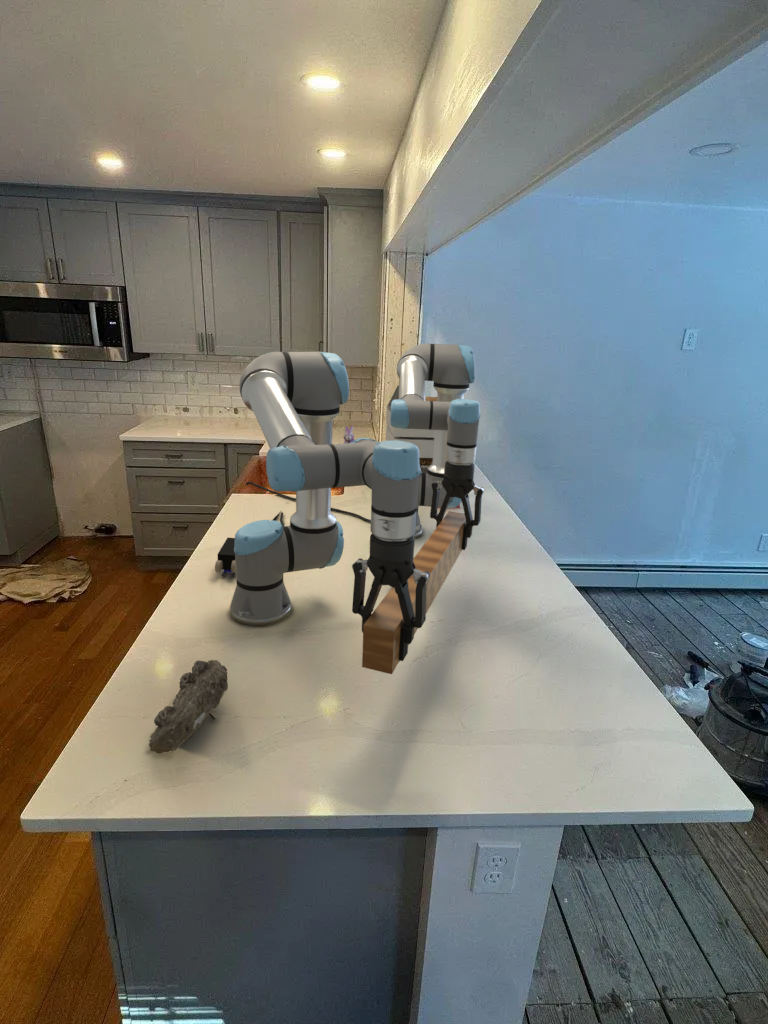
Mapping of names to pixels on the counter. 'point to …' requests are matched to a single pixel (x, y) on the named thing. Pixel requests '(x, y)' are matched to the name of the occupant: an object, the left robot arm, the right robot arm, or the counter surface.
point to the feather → (276, 517)
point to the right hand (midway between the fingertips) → (452, 545)
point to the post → (412, 594)
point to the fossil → (189, 705)
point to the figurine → (348, 435)
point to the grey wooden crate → (412, 434)
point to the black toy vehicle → (226, 558)
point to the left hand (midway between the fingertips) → (386, 652)
